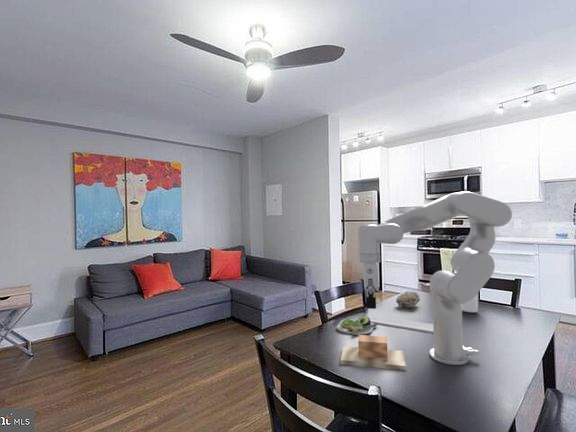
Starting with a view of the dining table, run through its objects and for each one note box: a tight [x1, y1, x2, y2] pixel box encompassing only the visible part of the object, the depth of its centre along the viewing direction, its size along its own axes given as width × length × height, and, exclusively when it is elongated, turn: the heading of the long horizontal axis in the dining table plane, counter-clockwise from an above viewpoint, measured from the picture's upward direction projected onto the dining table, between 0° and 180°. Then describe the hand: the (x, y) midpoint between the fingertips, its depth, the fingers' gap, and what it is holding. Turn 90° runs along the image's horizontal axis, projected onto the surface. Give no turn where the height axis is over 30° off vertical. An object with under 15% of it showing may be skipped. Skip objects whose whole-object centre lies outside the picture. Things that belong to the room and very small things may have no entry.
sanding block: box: [357, 334, 388, 360], centre depth 113 cm, size 10×6×6 cm, turn 75°
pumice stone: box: [395, 291, 421, 309], centre depth 176 cm, size 14×12×8 cm
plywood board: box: [340, 345, 407, 371], centre depth 113 cm, size 22×12×2 cm, turn 75°
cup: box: [461, 292, 479, 313], centre depth 163 cm, size 8×8×14 cm
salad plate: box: [336, 316, 379, 336], centre depth 143 cm, size 19×18×5 cm
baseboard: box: [368, 315, 434, 334], centre depth 150 cm, size 31×3×12 cm
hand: (371, 304), depth 114 cm, fingers open, 9 cm apart
